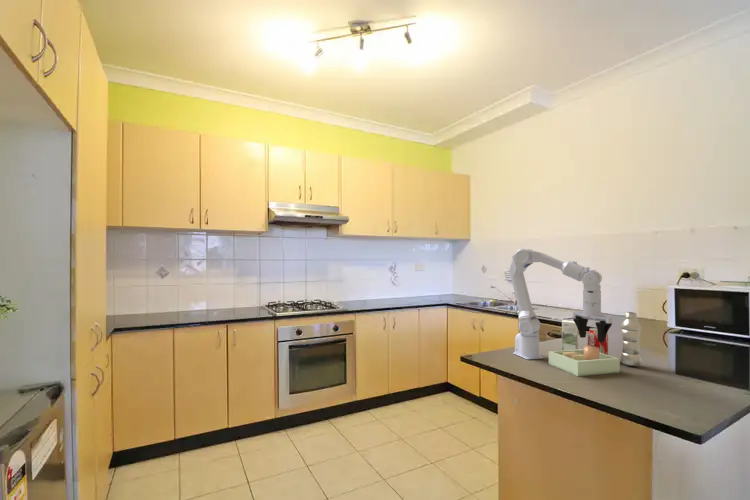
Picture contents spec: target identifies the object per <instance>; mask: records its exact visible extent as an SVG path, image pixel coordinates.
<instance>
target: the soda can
mask: <svg viewBox="0 0 750 500" xmlns="http://www.w3.org/2000/svg"><path fill="white" fill-rule="evenodd" d="M587 346H596V347H599V352H600V353H603V354H606V355H609V334H608V333H607V334H606V337H605V341H604V342H599V341H598V330H597V327H590V328H589V330H588V332H587Z"/></svg>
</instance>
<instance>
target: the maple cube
mask: <svg viewBox="0 0 750 500" xmlns="http://www.w3.org/2000/svg"><path fill="white" fill-rule="evenodd" d="M563 356H566V357H569V358H571V359H574V360H577V361H581V360H585V355H582V354H579V353H576V352H563Z"/></svg>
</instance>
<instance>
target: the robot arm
mask: <svg viewBox="0 0 750 500" xmlns="http://www.w3.org/2000/svg"><path fill="white" fill-rule="evenodd" d="M511 258H512V260H511V264H510V267H509V272H508V273H509V275H510V279H511V280H510V281H511V283H512V288H513V291H514V295H515V299H516V304H517V308H518V311H519V313H518V330H519V333H517V334H516V335H515V338H514V352H513V353H512V354H513V355H516V356H519V357H521V358H523V359H525V360H541V359H545V357H544V356H542V355H540V333H539V331H540V330H541V324H542V323H541V322H540V320H539V318H538V317H537V315H536V312H535V311H534V310H533V306H532V302H531V297H530V294H529V290H528V285H527V283H526V279H525V271H526V270H527V268H528V267H530V266H531V265H533V264H534V263H542V264H545V265H548V266H550V267H552V268H555V269H558V270H560V271H561V272H562V274H563V275H564V276H565V277H568V278H571V279H573V280H576V281H577V282H582V284H583V289H582V290H583V291H582V312H581V311H572V312H573V314H572V315H573V316H572V317H573V319H572V320H573V321H574V322H575V324H576V326H577V328H578V336H579V338H582V339H583V338H586V336H587V327H588V326H587V325H588V322H589V320H590V321H596V322H595V326H596V328H597V330H598V341H599V342H604V341H605V337H606V334H608V331H609V329H610V328H611V327H612V325H613V317H609V316H606V315H602V291H601V288H602V287H601V284H600V283H601V282H602V281H603V276H602V274H601V272H599V271H597V270H596V269H591V268H590V267H589V266H586V267H585V266H583V265H580V264H578V262H577V261H575V260H572V261H571V260H570V261H569V260H568V261H565V262H564V261H562V260H559V259H557V258H556V257H553V256H551V255H548V254H546V253H544V252H541V251H537V250H533V249H529V248H528V249H526V248H519V249H517V250H516V251H515V252H514V253H513V254H512V257H511Z"/></svg>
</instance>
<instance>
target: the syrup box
mask: <svg viewBox="0 0 750 500" xmlns="http://www.w3.org/2000/svg"><path fill="white" fill-rule="evenodd" d="M577 349H579V331H578V328H577V326H576V324H575V322H574V321H573V319H562V321H561V351H562V350H577Z"/></svg>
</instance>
